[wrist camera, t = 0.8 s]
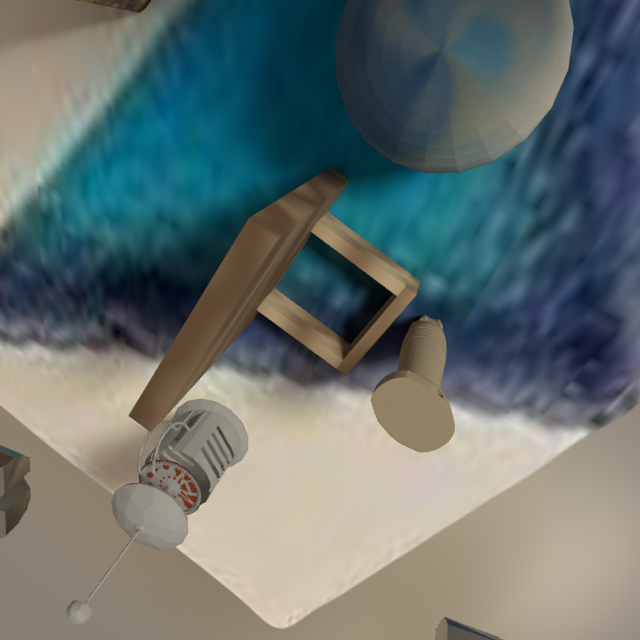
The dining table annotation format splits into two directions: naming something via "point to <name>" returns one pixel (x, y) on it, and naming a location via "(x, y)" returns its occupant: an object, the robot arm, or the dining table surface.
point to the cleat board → (273, 294)
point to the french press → (175, 480)
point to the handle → (417, 391)
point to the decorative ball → (450, 75)
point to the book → (123, 4)
